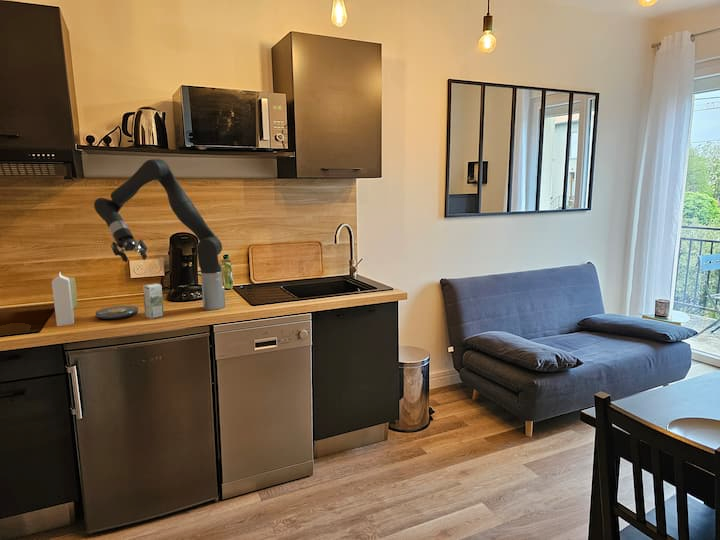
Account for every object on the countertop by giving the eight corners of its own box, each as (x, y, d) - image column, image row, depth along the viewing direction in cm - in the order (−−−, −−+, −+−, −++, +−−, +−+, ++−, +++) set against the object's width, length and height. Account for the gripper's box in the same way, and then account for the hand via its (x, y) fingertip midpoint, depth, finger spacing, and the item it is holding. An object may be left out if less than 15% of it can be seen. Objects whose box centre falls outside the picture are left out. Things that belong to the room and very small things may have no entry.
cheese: (76, 316, 217) (72, 283, 214) (50, 319, 212) (46, 286, 210) (78, 306, 236) (74, 275, 234) (54, 308, 232) (51, 277, 229)
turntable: (126, 307, 228) (126, 303, 228) (145, 312, 218) (145, 308, 218) (88, 314, 215) (88, 311, 215) (107, 321, 205) (106, 317, 205)
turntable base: (124, 311, 225) (124, 309, 225) (137, 315, 218) (137, 312, 218) (97, 316, 216) (97, 314, 215) (110, 321, 208) (110, 318, 208)
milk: (57, 326, 202) (50, 274, 198) (58, 322, 207) (51, 272, 203) (73, 324, 204) (67, 272, 200) (74, 320, 210) (68, 270, 206)
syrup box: (157, 314, 219) (154, 282, 216) (164, 316, 215) (161, 284, 213) (145, 317, 214) (142, 284, 212) (151, 319, 211) (149, 286, 208)
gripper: (107, 228, 215) (122, 256, 210) (138, 226, 226) (153, 252, 221) (102, 239, 219) (117, 267, 214) (133, 236, 230) (148, 263, 225)
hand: (136, 259), depth 218 cm, fingers open, 8 cm apart
